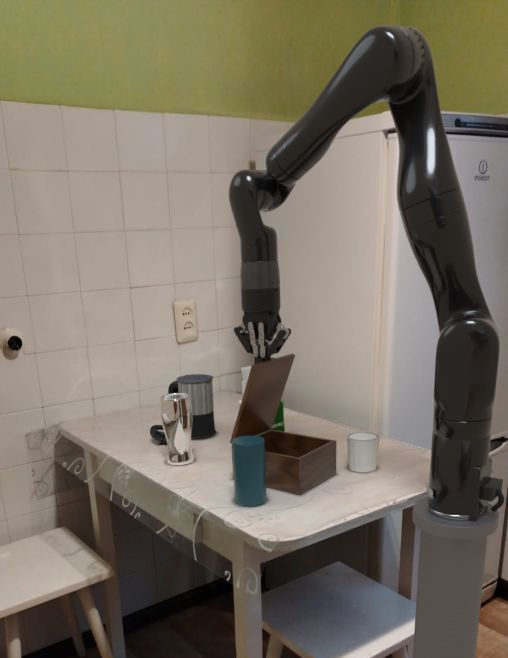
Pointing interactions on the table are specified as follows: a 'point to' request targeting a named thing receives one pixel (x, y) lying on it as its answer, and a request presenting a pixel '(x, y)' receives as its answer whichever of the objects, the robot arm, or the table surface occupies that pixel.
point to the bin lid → (262, 396)
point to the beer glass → (177, 427)
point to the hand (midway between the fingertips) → (263, 375)
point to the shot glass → (362, 451)
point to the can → (249, 470)
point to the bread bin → (297, 461)
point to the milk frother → (194, 405)
